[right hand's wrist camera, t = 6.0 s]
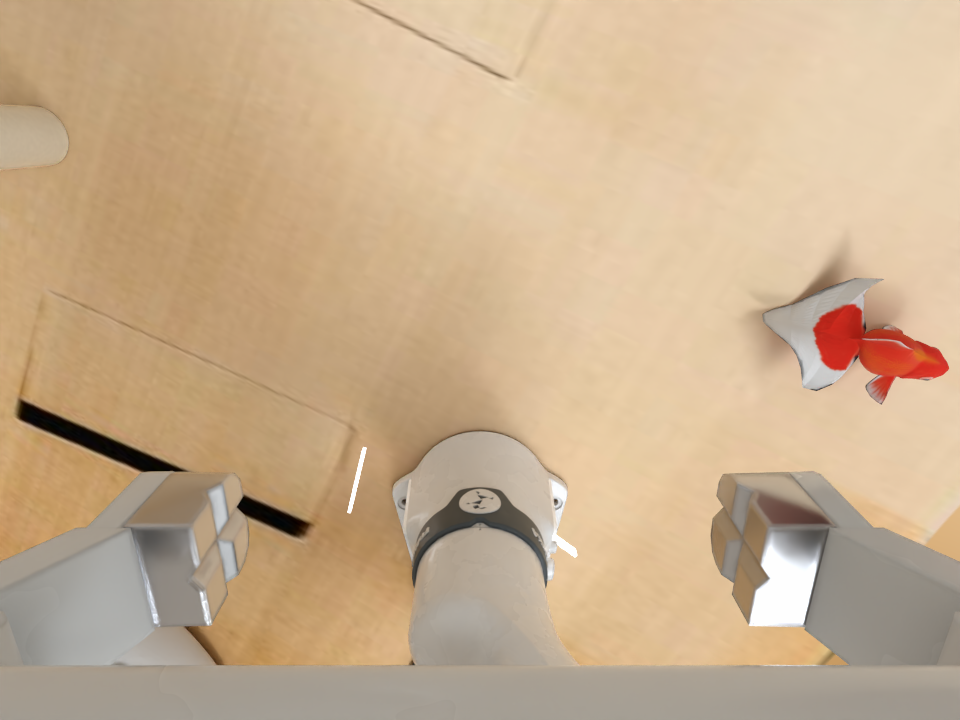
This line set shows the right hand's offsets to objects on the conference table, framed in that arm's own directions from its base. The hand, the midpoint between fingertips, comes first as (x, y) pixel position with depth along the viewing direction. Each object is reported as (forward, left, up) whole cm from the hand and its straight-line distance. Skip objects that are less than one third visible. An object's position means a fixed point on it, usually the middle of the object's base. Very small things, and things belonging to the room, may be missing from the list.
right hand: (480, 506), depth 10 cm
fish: (-13, -34, -48) cm, 60 cm away
